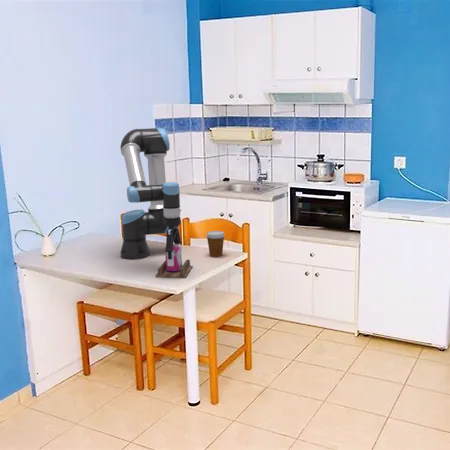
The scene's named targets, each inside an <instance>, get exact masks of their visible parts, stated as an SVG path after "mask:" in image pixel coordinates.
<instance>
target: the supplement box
mask: <svg viewBox="0 0 450 450" xmlns="http://www.w3.org/2000/svg"><path fill="white" fill-rule="evenodd" d="M165 250H166V247H164V253H165V260H166V271H167V272H176V273H177V272H179V271H180V268H181V267H182V265H183V259H182V246H181V245H180V246H179V245H174V244H173V257H174V266H168V263H167V252H165Z"/></svg>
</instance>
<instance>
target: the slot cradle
mask: <svg viewBox="0 0 450 450" xmlns="http://www.w3.org/2000/svg"><path fill="white" fill-rule="evenodd" d="M193 268H194V267H193V265H191V260H190V259H186V260H185V261H184V262H183V263H182V267H181V268H180V271H179V272H177V273H176V272H167V271H166V259H165V260H164V261H163V262H162V264H161V265H160V266H159V267H158V268H157V273H156V274H155V278H159V279H160V278H163V279H164V278H167V279H187V277H188V275H190V272H191V271H192V270H191V269H193Z"/></svg>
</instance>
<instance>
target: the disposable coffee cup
mask: <svg viewBox="0 0 450 450" xmlns="http://www.w3.org/2000/svg"><path fill="white" fill-rule="evenodd" d="M225 236H226V235H225V232H224V231H222V230H210V231H208V232H207V233H206V235H205V237H206V239H207V245H208V251H209V256H210V257H211V258H219V257H220V258H221V257H222V256H223V252H224V251H223V250H224V242H225Z"/></svg>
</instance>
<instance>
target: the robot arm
mask: <svg viewBox="0 0 450 450" xmlns="http://www.w3.org/2000/svg"><path fill="white" fill-rule="evenodd" d="M170 145H171V144H170V139H169V135H168V132H167V130H166V129H165V128H162V127H161V128H159V127H155V128H154V127H153V128H135V129H132V130H130V131H128V132H127V133H126V134H125V135H124V136H123V138H122V139H121V142H120V153H121V155H122V156H123V158H124V163H125V168H126V172H127V177H128V182H129V186H127V188H126V197H127V202H129V203H134V204H135V203H138V204H139V203H148V202H150V205H149V207H148V208H147V211H145V210H144V209H134V210H133V209H132V210H129V211H125V212H124V213H123V214H122V216H121V225H122V229H121V230H122V240H123V241H122V245H121V249H120V257H121V258H122V259H127V260H139V259H140V260H141V259H144V258H148V257H149V256H150V255H151V250H150V246H149V244H148V242H147V235H159V234H162V235H165V234H166V241H165V242H166V243H165V248H166V250H165V249H164V253H165V252H167V263H168V266H174V257H173V245H179V246H181V245H180V244H182V241H181V235H180V227H179V226H181V224H182V222H181V219H182V218H181V212H182V209H181V204H180V203H181V202H180V201H181V200H180V198H181V197H180V184H179V183H178V182H175V181H169V182H166V181H167V180H166V168H165V167H166V166H165V157H166V156H167V155H168V153H167V152H169V151H170V149H171V147H170ZM141 153H143V155H144V157H145V158H146V160H147V173H148V184H147V181H146V177H145V173H144V168H143V164H142V160H141V155H140V154H141Z"/></svg>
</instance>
